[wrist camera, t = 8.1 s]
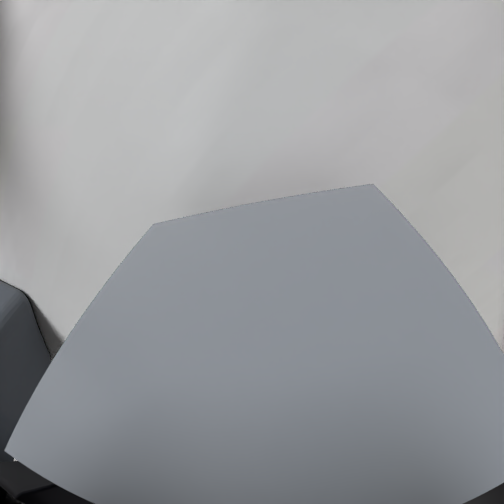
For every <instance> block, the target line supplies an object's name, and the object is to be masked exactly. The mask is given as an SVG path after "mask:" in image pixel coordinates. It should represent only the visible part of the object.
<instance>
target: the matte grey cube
mask: <svg viewBox="0 0 504 504" xmlns="http://www.w3.org/2000/svg"><path fill="white" fill-rule="evenodd" d="M4 451H5V452H7V453H8V454H9V455H11V456H12V457H13V458H15V459H16V460H18V461H19V462H21V463H22V464H24V465H25V466H27V467H28V468H30V469H31V470H33V471H34V472H36V473H37V474H39V475H41V476H42V477H44V478H46V479H47V480H49V481H51V482H53V483H54V484H56V485H58V486H60V487H62V488H64V489H65V490H67V491H69V492H71V493H73V494H75V495H77V496H79V497H81V498H84V499H86V500H88V501H90V502H92V503H95V504H463V503H465V502H467V501H470V500H472V499H474V498H476V497H478V496H480V495H482V494H484V493H486V492H488V491H489V490H491V489H493V488H495V487H497V486H498V485H500V484H502V483H504V354H503V352H502V350H501V349H500V347H499V345H498V343H497V342H496V340H495V338H494V337H493V335H492V333H491V331H490V330H489V328H488V327H487V325H486V323H485V322H484V320H483V319H482V317H481V315H480V314H479V312H478V311H477V309H476V308H475V306H474V305H473V303H472V302H471V300H470V299H469V297H468V296H467V294H466V293H465V292H464V290H463V289H462V287H461V286H460V285H459V283H458V282H457V280H456V279H455V278H454V276H453V275H452V274H451V272H450V271H449V270H448V268H447V267H446V266H445V265H444V263H443V262H442V261H441V259H440V258H439V257H438V256H437V254H436V253H435V252H434V251H433V249H432V248H431V247H430V246H429V245H428V243H427V242H426V241H425V240H424V239H423V237H422V236H421V235H420V234H419V233H418V231H417V230H416V229H415V228H414V227H413V226H412V225H411V223H410V222H409V221H408V220H407V219H406V218H405V217H404V216H403V215H402V213H401V212H400V211H399V210H398V209H397V208H396V207H395V206H394V205H393V204H392V203H391V202H390V201H389V200H388V199H387V198H386V196H385V195H384V194H383V193H382V192H381V191H380V190H379V189H378V188H377V187H376V186H375V185H374V184H369V185H361V186H354V187H347V188H340V189H334V190H327V191H321V192H314V193H308V194H302V195H296V196H290V197H284V198H279V199H273V200H268V201H262V202H257V203H251V204H246V205H241V206H236V207H231V208H226V209H221V210H216V211H211V212H206V213H201V214H197V215H192V216H187V217H183V218H178V219H174V220H169V221H165V222H160V223H156V224H153V225H152V226H151V228H150V229H149V230H148V231H147V232H146V233H145V235H144V236H143V237H142V238H141V239H140V241H139V242H138V243H137V244H136V245H135V247H134V248H133V249H132V250H131V252H130V253H129V254H128V255H127V256H126V258H125V259H124V260H123V261H122V263H121V264H120V265H119V267H118V268H117V269H116V270H115V272H114V273H113V274H112V276H111V277H110V278H109V279H108V281H107V282H106V283H105V285H104V286H103V287H102V289H101V290H100V291H99V293H98V294H97V295H96V297H95V298H94V300H93V301H92V302H91V304H90V305H89V307H88V308H87V309H86V311H85V312H84V314H83V315H82V316H81V318H80V319H79V321H78V322H77V324H76V325H75V327H74V328H73V330H72V331H71V333H70V334H69V336H68V337H67V339H66V340H65V342H64V343H63V345H62V346H61V348H60V349H59V351H58V352H57V354H56V356H55V357H54V359H53V360H52V362H51V364H50V365H49V367H48V369H47V370H46V372H45V374H44V375H43V377H42V379H41V380H40V382H39V384H38V386H37V387H36V389H35V391H34V393H33V394H32V396H31V398H30V400H29V402H28V404H27V405H26V407H25V409H24V411H23V413H22V415H21V417H20V419H19V421H18V423H17V425H16V427H15V429H14V431H13V433H12V435H11V437H10V439H9V442H8V444H7V446H6V448H5V450H4Z"/></svg>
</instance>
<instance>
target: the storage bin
mask: <svg viewBox="0 0 504 504" xmlns="http://www.w3.org/2000/svg"><path fill="white" fill-rule="evenodd" d="M50 364H51V358H50V355H49V352H48V350H47V348H46V345H45V343H44V340H43V338H42V335H41V333H40V330H39V328H38V325H37V323H36V320H35V317H34V314H33V311H32V308H31V305H30V303H29V300H28V299H27V297H26V296H25V295H24V294H23V293H22V292H21V291H20V290H18V289H17V288H14V287H12V286H10V285H8V284H6V283H4V282H2V281H0V461H1V462H10V461H13V460H14V458H13V457H12V456H11V455H9V454H8V453H7V452H5V451H4V450H5V448H6V446H7V444H8V442H9V439H10V437H11V435H12V433H13V431H14V429H15V427H16V425H17V423H18V421H19V419H20V417H21V415H22V413H23V411H24V409H25V407H26V405H27V404H28V402H29V400H30V398H31V396H32V394H33V393H34V391H35V389H36V387H37V386H38V384H39V382H40V380H41V379H42V377H43V375H44V374H45V372H46V370H47V369H48V367H49V365H50Z"/></svg>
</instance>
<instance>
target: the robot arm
mask: <svg viewBox="0 0 504 504" xmlns="http://www.w3.org/2000/svg"><path fill="white" fill-rule="evenodd" d="M0 504H95V503H92V502H90V501H88V500H86V499H84V498H81V497H79V496H77V495H75V494H73V493H71V492H69V491H67V490H65V489H64V488H62V487H60V486H58V485H56V484H54V483H53V482H51V481H49V480H47V479H46V478H44V477H42V476H41V475H39V474H37V473H36V472H34V471H33V470H31V469H30V468H28V467H27V466H25V465H24V464H22V463H21V462H19V461H10V462H1V461H0ZM463 504H504V483H502V484H500V485H498V486H497V487H495V488H493V489H491V490H489V491H488V492H486V493H484V494H482V495H480V496H478V497H476V498H474V499H472V500H470V501H467V502H465V503H463Z"/></svg>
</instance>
